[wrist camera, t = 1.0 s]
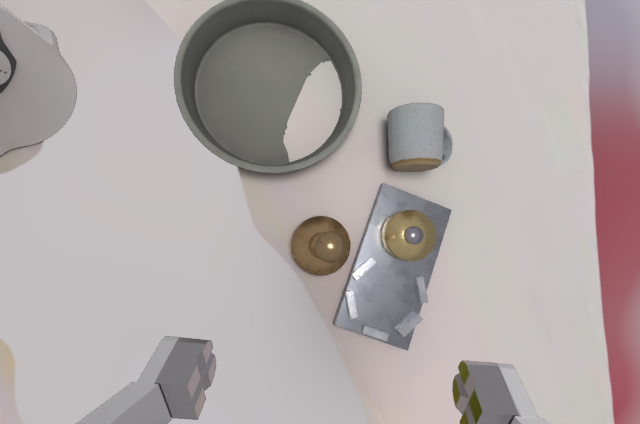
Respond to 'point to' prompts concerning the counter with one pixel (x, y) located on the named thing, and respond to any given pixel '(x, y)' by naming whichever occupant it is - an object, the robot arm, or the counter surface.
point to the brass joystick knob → (320, 245)
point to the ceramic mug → (418, 137)
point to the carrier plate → (393, 267)
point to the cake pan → (260, 79)
